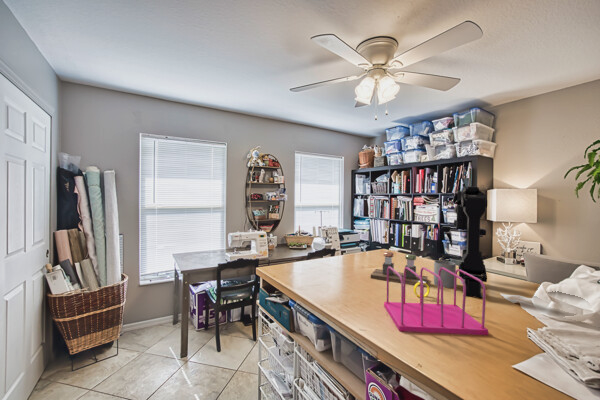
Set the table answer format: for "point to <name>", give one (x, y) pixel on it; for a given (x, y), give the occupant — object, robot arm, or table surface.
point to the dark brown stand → (393, 277)
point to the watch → (423, 284)
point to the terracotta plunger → (388, 257)
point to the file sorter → (434, 310)
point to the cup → (445, 273)
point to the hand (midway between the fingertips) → (462, 247)
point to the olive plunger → (410, 260)
